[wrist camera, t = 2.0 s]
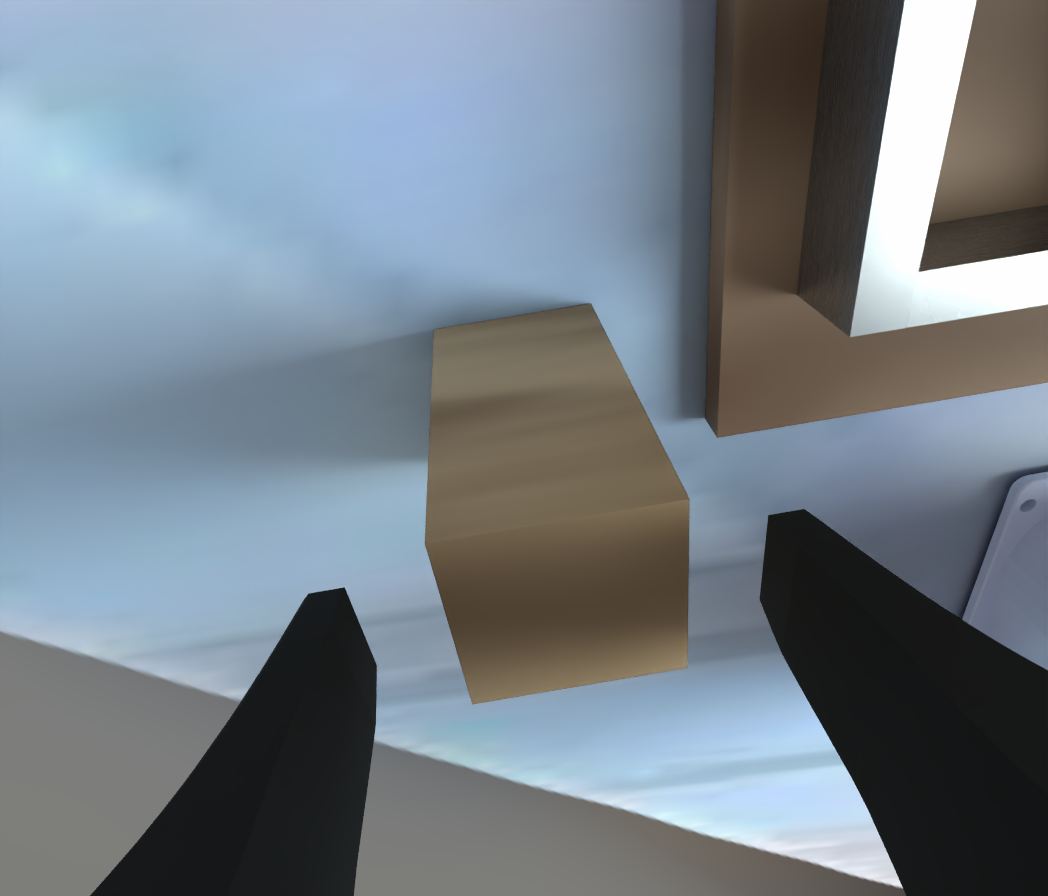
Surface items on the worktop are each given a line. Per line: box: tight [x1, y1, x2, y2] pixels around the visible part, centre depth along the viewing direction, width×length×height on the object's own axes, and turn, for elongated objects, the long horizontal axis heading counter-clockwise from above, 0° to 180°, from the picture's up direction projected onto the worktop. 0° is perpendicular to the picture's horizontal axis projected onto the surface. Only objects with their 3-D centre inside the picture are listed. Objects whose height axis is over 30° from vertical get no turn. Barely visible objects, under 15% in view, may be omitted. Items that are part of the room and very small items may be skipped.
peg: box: [425, 303, 689, 704], centre depth 14 cm, size 4×4×8 cm
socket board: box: [705, 0, 1048, 438], centre depth 13 cm, size 16×12×4 cm
